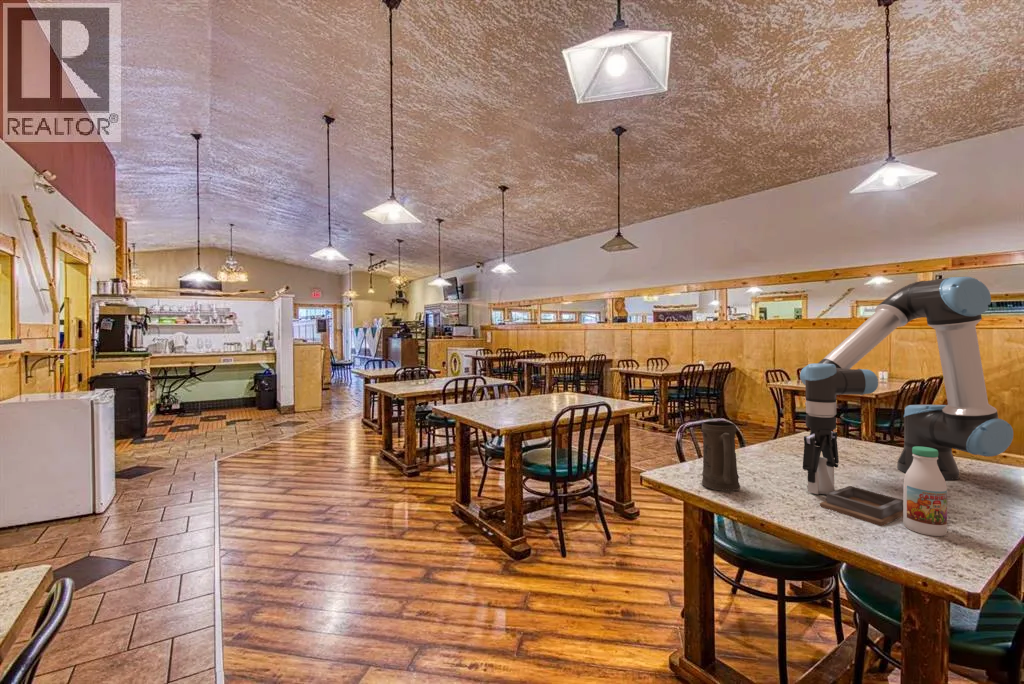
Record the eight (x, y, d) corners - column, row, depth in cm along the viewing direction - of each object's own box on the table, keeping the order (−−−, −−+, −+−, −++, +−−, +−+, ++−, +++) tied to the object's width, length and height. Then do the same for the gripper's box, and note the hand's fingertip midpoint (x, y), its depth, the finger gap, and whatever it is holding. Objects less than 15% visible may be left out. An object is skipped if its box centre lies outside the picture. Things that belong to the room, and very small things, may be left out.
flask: (841, 496, 127) (841, 462, 127) (813, 494, 128) (813, 461, 128) (828, 487, 134) (828, 455, 134) (802, 486, 135) (802, 454, 135)
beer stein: (695, 480, 143) (695, 419, 142) (728, 480, 142) (728, 419, 142) (716, 498, 127) (715, 430, 127) (753, 498, 127) (753, 430, 126)
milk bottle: (894, 523, 109) (895, 444, 109) (922, 522, 110) (923, 443, 109) (926, 538, 101) (927, 453, 101) (956, 536, 102) (957, 452, 102)
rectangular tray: (850, 495, 128) (850, 483, 128) (911, 513, 115) (911, 499, 115) (819, 506, 120) (819, 494, 120) (881, 526, 108) (881, 512, 108)
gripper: (825, 409, 139) (826, 480, 139) (787, 416, 129) (788, 492, 130) (852, 413, 132) (853, 487, 132) (814, 421, 122) (815, 501, 123)
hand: (821, 490), depth 131 cm, fingers closed on flask, 8 cm apart
